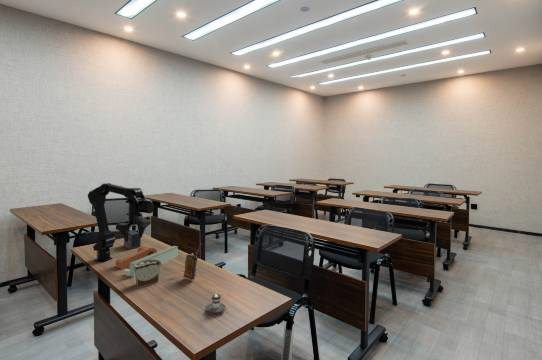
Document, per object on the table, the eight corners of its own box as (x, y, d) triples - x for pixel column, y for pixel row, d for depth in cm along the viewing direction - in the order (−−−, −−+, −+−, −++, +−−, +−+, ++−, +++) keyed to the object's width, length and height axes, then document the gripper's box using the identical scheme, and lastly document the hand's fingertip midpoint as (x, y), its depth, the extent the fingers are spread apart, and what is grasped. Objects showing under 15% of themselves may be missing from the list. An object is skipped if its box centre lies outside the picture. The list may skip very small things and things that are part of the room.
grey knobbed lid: (203, 318, 106) (203, 305, 105) (198, 303, 117) (198, 291, 116) (235, 312, 111) (235, 299, 110) (227, 298, 121) (227, 286, 121)
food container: (155, 277, 140) (155, 257, 140) (161, 281, 136) (161, 260, 135) (129, 284, 132) (129, 263, 131) (134, 288, 127) (134, 266, 127)
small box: (141, 249, 184) (141, 232, 184) (131, 251, 179) (131, 234, 178) (133, 245, 191) (133, 230, 190) (123, 247, 186) (123, 231, 185)
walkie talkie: (206, 278, 141) (206, 242, 140) (184, 287, 130) (184, 248, 129) (188, 271, 149) (189, 237, 148) (166, 279, 138) (166, 242, 137)
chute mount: (123, 274, 142) (123, 261, 142) (168, 255, 172) (168, 244, 172) (134, 277, 140) (134, 263, 139) (177, 257, 170) (177, 246, 170)
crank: (150, 257, 170) (150, 244, 169) (157, 260, 165) (157, 246, 165) (114, 266, 154) (114, 251, 154) (121, 269, 149) (121, 254, 149)
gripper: (131, 216, 144) (130, 246, 145) (158, 210, 161) (158, 238, 162) (115, 213, 148) (114, 243, 149) (143, 208, 165) (142, 235, 166)
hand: (133, 239), depth 157 cm, fingers open, 9 cm apart
